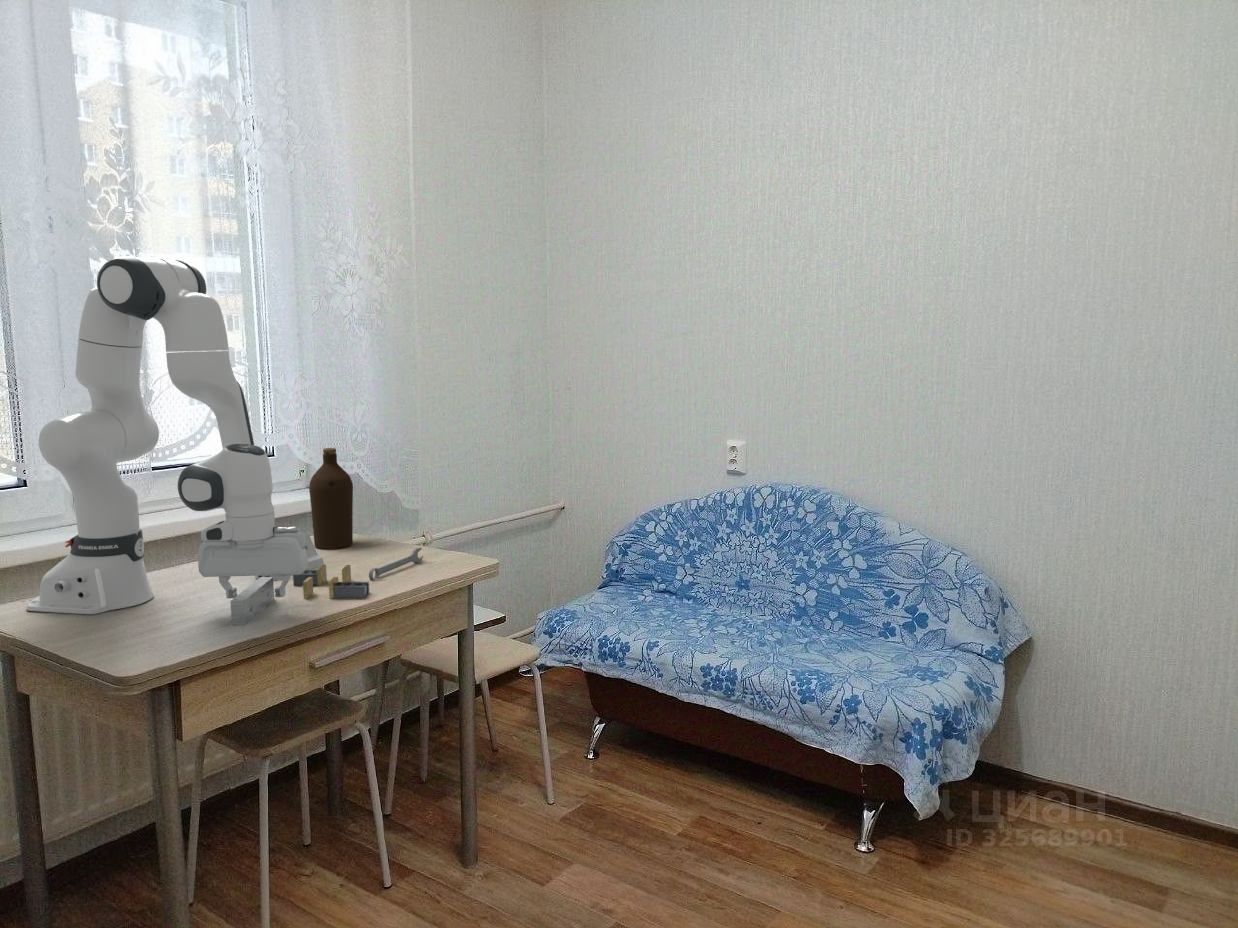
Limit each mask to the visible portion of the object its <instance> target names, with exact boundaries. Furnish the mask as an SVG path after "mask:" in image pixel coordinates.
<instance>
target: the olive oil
mask: <svg viewBox="0 0 1238 928" xmlns="http://www.w3.org/2000/svg"><path fill="white" fill-rule="evenodd" d="M322 452H323V453H322V461H323V462H322V465H321V466H320V467H319V468H318V470H316V472H315V473H314V474H313V476H312V477H311V479H310V481H309V487H308V488H309V490H308V491H309V499H310V508H311V509H310V510H311V519H312V524H311V525H312V529H313V531H312V532H313V533H312V534H313V545H314V547H315V549H320V550H338V549H344V548H345V549H346V548H349V547H351V546H353V541H354V539H353V535H354V532H353V523H354V522H353V520H354V519H353V514H354V513H353V512H354V511H353V506H354V505H353V500H354V485H353V484H354V483H353V480H352V478H351V476H350V475H349V474H348V472H347V471H346V470H345V469H343V467H341V466H340V464H339V463H338V460H337V459H338V458H337V457H338V453H337V448H335V447H327V448H325V447H324V448H323V449H322Z"/></svg>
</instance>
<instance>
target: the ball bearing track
mask: <svg viewBox="0 0 1238 928" xmlns="http://www.w3.org/2000/svg"><path fill="white" fill-rule="evenodd" d="M351 574H352V572H351V564H346V565H345V566H344V567H343V568H342V569H341V577H342V579H341V580H342V581H339V576H334V577H332V578H331V579H330V580H329V581H328V590H329V591H328V592H329V593H328V595H329V599H365V598H366V596H368V595H369V594H370V581H351V580H352V575H351ZM327 575H328V574H327V564H324V565H322V566H319V567H317V569H310V570H305V571H304V572H303V573H302V574H300V575H292V577H293V578H292V580H293V581H292V582H293V586H295V587H296V586H300V587H301V586H302V587H303V589H302V590H303V591H302V592H303V593H302V594H303V599H309V598H310V597H311V596H312V595H314V586H323V585H324V584H325V583H326V582H327V580H328V578H327Z"/></svg>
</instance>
